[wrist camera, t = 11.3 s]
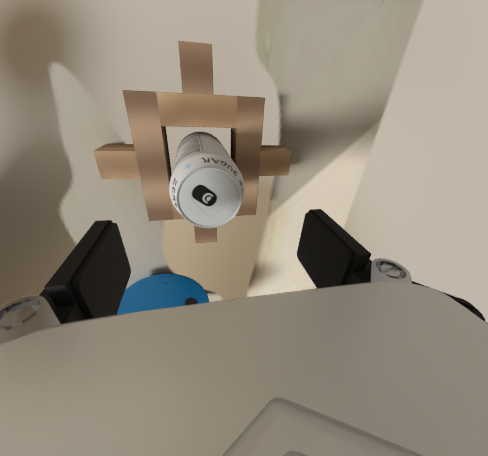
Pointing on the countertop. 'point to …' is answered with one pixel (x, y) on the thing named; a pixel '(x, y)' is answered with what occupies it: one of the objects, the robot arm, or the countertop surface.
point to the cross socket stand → (190, 115)
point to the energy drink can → (205, 182)
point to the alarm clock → (161, 293)
